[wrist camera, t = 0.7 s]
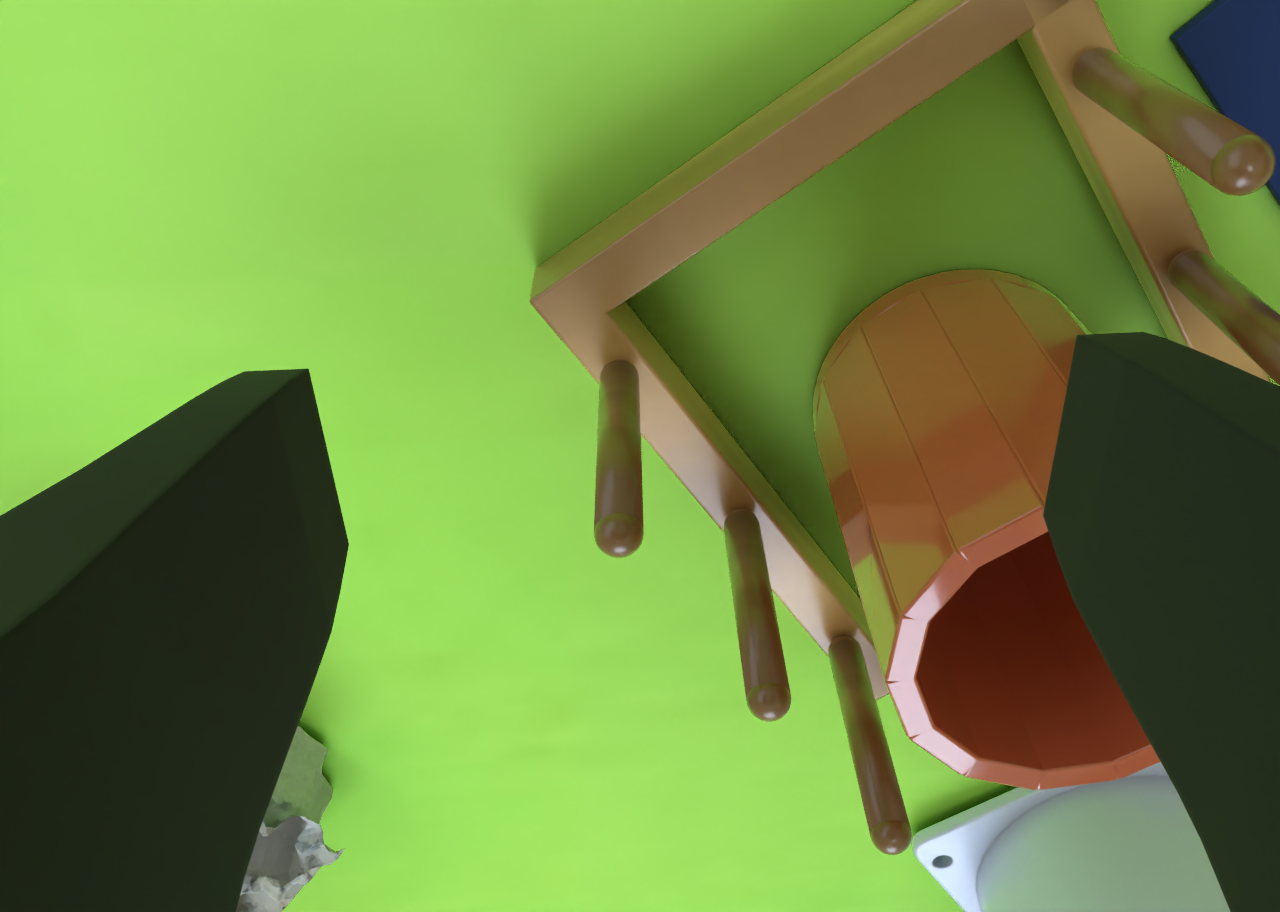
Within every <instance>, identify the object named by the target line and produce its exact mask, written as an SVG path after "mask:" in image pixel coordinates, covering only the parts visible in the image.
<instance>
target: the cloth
mask: <svg viewBox="0 0 1280 912" xmlns="http://www.w3.org/2000/svg"><path fill="white" fill-rule="evenodd" d="M1170 38H1171V40H1172V42H1173V43H1174V45H1175V46H1176V48H1177V49H1178V51H1179V53H1180V54H1181V56H1182V57H1183V59H1184V60H1185V62H1186V63H1187V65H1188V66H1189V68H1190V69H1191V71H1192V72H1193V74H1194V75H1195V77H1196V78H1197V80H1198V81H1199V83H1200V84H1201V86H1202V87H1203V89H1204V91H1205V92H1206V94H1207V95H1208V97H1209V98H1210V100H1211V101H1212V103H1213V104H1214V106H1215V107H1216V109H1217V110H1218V112H1219V113H1220V114H1222V115H1224V116H1226V117H1227V118H1229V119H1231V120H1232V121H1234V122H1236V123H1238V124H1239V125H1241V126H1243V127H1245V128H1246V129H1248V130H1250V131H1251V132H1253V133H1255V134H1257V135H1258V136H1260V137H1262V138H1263V139H1265V140H1266V141H1267V142H1268V143H1269V144H1270V145H1271V146H1272V148H1273V150H1274V152H1275V156H1276V165H1275V170H1274V172H1273V175H1272V176H1271V178H1270V179H1269V181H1268V182H1267V183H1266V185H1267V186H1268V188H1269V189H1270V191H1271V192H1272V194H1273V196H1274V197H1275V199H1276V200H1277V202H1278V203H1279V205H1280V0H1215V1H1214V2H1213V3H1211V4H1210V5H1209V6H1208V7H1206V8H1205V9H1204V10H1203V11H1201V12H1200V13H1199V14H1198V15H1196V16H1195V17H1194V18H1193V19H1191V20H1190V21H1189V22H1188V23H1187V24H1185V25H1184V26H1183V27H1182V28H1180V29H1179V30H1178V31H1177V32H1175V33H1174V34H1173V35H1172V36H1171V37H1170Z"/></svg>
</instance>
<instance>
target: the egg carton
mask: <svg viewBox="0 0 1280 912" xmlns="http://www.w3.org/2000/svg"><path fill="white" fill-rule="evenodd" d="M327 750H328V749H327V748H326V747H325V746H323V745H322V744H321V743H320V742H318V741H316V740H315V739H314V738H312V737H311V736H309V735H308V734H307V733H306V732H305V731H304V730H303V729H302V728H301V727H299V726H297V729H296V732H295V735H294V737H293V740H292V743H291V745H290V748H289V751H288V754H287V756H286V759H285V762H284V764H283V767H282V770H281V773H280V775H279V778H278V781H277V784H276V786H275V789H274V792H273V794H272V797H271V800H270V803H269V805H268V808H267V811H266V814H265V816H264V819H263V822H262V824H261V827H260V830H259V833H258V836H257V839H256V843H255V846H254V849H253V852H252V855H251V858H250V862H249V865H248V868H247V871H246V874H245V878H244V882H243V886H242V890H241V894H240V898H239V902H238V906H237V910H236V912H281V911H282V910H283V909H284V908H285V907H286V906H287V905H288V904H289V903H290V902H291V901H292V900H293V898H294V897H295V896H296V895H297V893H298V892H299V891H300V889H301V888H302V887H303V886H304V885H305V884H307V883H308V882H309V881H310V880H311V879H312V878H313V876H314V875H315V874H316V872H317V871H318V870H319V868H320V867H321V866H323V865H330V864H331V863H333V862H334V861H335V860H337V859H338V858H339V856H340V855H341V853H342V852H343V850H344V849H342V850H340V851H334V850H332V849H331V848H329V847H328V846H326V845H325V844H324V842H323V831H322V829H321V826H320V825H319V823H320V819H321V816H322V814H323V812H324V810H325V809H326V807H327V805H328V803H329V801H330V800H331V798H332V793H333V788H332V787H331V786H330V784H329V783H328V781H327V780H326V778H325V777H324V776H323V775H322V766H323V763H324V760H325V756H326V753H327Z"/></svg>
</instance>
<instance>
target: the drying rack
mask: <svg viewBox="0 0 1280 912" xmlns="http://www.w3.org/2000/svg"><path fill="white" fill-rule="evenodd" d="M1016 39H1017V41H1018V43H1019V45H1020V47H1021V49H1022V51H1023V53H1024V55H1025V57H1026V59H1027V61H1028V63H1029V65H1030V67H1031V69H1032V70H1033V72H1034V74H1035V76H1036V78H1037V80H1038V82H1039V84H1040V86H1041V88H1042V90H1043V92H1044V94H1045V96H1046V98H1047V100H1048V102H1049V104H1050V106H1051V108H1052V110H1053V112H1054V114H1055V116H1056V118H1057V120H1058V122H1059V124H1060V126H1061V128H1062V130H1063V132H1064V134H1065V136H1066V138H1067V140H1068V142H1069V144H1070V146H1071V148H1072V150H1073V152H1074V154H1075V156H1076V158H1077V160H1078V162H1079V163H1080V165H1081V167H1082V169H1083V171H1084V173H1085V175H1086V177H1087V179H1088V181H1089V183H1090V185H1091V187H1092V189H1093V191H1094V193H1095V195H1096V197H1097V199H1098V201H1099V203H1100V205H1101V207H1102V209H1103V211H1104V213H1105V215H1106V217H1107V219H1108V221H1109V223H1110V225H1111V227H1112V229H1113V231H1114V233H1115V235H1116V237H1117V239H1118V241H1119V243H1120V245H1121V247H1122V249H1123V251H1124V253H1125V254H1126V256H1127V258H1128V260H1129V262H1130V264H1131V266H1132V268H1133V270H1134V272H1135V274H1136V276H1137V278H1138V280H1139V282H1140V284H1141V286H1142V288H1143V290H1144V292H1145V294H1146V296H1147V298H1148V300H1149V302H1150V304H1151V306H1152V308H1153V310H1154V312H1155V314H1156V316H1157V318H1158V320H1159V322H1160V324H1161V326H1162V328H1163V330H1164V332H1165V334H1166V336H1167V338H1168V340H1171V341H1174V342H1176V343H1179V344H1182V345H1184V346H1187V347H1190V348H1192V349H1194V350H1197V351H1199V352H1202V353H1204V354H1207V355H1209V356H1211V357H1214V358H1216V359H1218V360H1221V361H1223V362H1225V363H1228V364H1230V365H1232V366H1234V367H1237V368H1239V369H1241V370H1243V371H1246V372H1248V373H1250V374H1252V375H1255V376H1257V377H1259V378H1261V379H1264V380H1266V381H1268V382H1270V383H1271V381H1270V379H1269V377H1268V375H1269V376H1270V377H1271V378H1272V379H1273V380H1274V381H1275V382H1276V383H1277V384H1279V385H1280V315H1279V314H1278V313H1277V312H1276V311H1274V310H1273V309H1272V308H1271V307H1270V306H1268V305H1267V304H1266V303H1265V302H1264V301H1262V300H1261V299H1260V298H1259V297H1258V296H1256V295H1255V294H1254V293H1253V292H1252V291H1250V290H1249V289H1248V288H1247V287H1246V286H1244V285H1243V284H1242V283H1241V282H1240V281H1238V280H1237V279H1236V278H1235V277H1234V276H1232V275H1231V274H1230V273H1229V272H1228V271H1226V270H1225V269H1224V268H1223V267H1222V266H1220V265H1219V264H1218V263H1217V262H1216V261H1215V259H1214V257H1213V255H1212V253H1211V251H1210V248H1209V246H1208V244H1207V242H1206V240H1205V238H1204V235H1203V233H1202V231H1201V229H1200V227H1199V225H1198V222H1197V220H1196V218H1195V216H1194V214H1193V211H1192V209H1191V207H1190V205H1189V203H1188V201H1187V198H1186V196H1185V194H1184V192H1183V190H1182V188H1181V185H1180V183H1179V181H1178V179H1177V177H1176V174H1175V172H1174V170H1173V168H1172V166H1171V164H1170V161H1169V159H1168V157H1167V155H1166V153H1167V154H1168V155H1170V156H1171V157H1173V158H1174V159H1176V160H1177V161H1178V162H1180V163H1181V164H1183V165H1184V166H1185V167H1187V168H1188V169H1190V170H1191V171H1192V172H1194V173H1195V174H1197V175H1198V176H1200V177H1201V178H1202V179H1204V180H1205V181H1207V182H1208V183H1209V184H1211V185H1212V186H1214V187H1215V188H1216V189H1218V190H1219V191H1221V192H1223V193H1225V194H1229V195H1237V196H1241V195H1247V194H1250V193H1253V192H1255V191H1257V190H1259V189H1260V188H1262V187H1263V186H1264V185H1265V184H1266V183H1267V182H1268V181H1269V179H1270V178H1271V176H1272V175H1273V172H1274V170H1275V165H1276V156H1275V152H1274V150H1273V148H1272V146H1271V145H1270V144H1269V143H1268V142H1267V141H1266V140H1265V139H1263V138H1262V137H1260V136H1258V135H1257V134H1255V133H1253V132H1251V131H1250V130H1248V129H1246V128H1245V127H1243V126H1241V125H1239V124H1238V123H1236V122H1234V121H1232V120H1231V119H1229V118H1227V117H1226V116H1224V115H1222V114H1220V113H1219V112H1217V111H1215V110H1213V109H1212V108H1210V107H1208V106H1207V105H1205V104H1203V103H1201V102H1200V101H1198V100H1196V99H1194V98H1193V97H1191V96H1189V95H1188V94H1186V93H1184V92H1182V91H1181V90H1179V89H1177V88H1175V87H1174V86H1172V85H1170V84H1169V83H1167V82H1165V81H1163V80H1162V79H1160V78H1158V77H1156V76H1155V75H1153V74H1151V73H1150V72H1148V71H1146V70H1144V69H1143V68H1141V67H1139V66H1137V65H1136V64H1134V63H1132V62H1131V61H1129V60H1127V59H1125V58H1124V57H1122V56H1121V55H1120V53H1119V50H1118V48H1117V46H1116V44H1115V42H1114V40H1113V37H1112V35H1111V33H1110V31H1109V29H1108V27H1107V24H1106V22H1105V20H1104V18H1103V16H1102V13H1101V11H1100V9H1099V7H1098V5H1097V3H1096V0H917V1H916V2H914V3H913V4H911V5H910V6H908V7H907V8H906V9H904V10H903V11H901V12H900V13H898V14H897V15H896V16H894V17H893V18H891V19H890V20H889V21H887V22H886V23H884V24H883V25H881V26H880V27H879V28H877V29H876V30H874V31H873V32H871V33H870V34H869V35H867V36H866V37H864V38H863V39H861V40H860V41H859V42H857V43H856V44H854V45H853V46H851V47H850V48H849V49H847V50H846V51H844V52H843V53H841V54H840V55H839V56H837V57H836V58H834V59H833V60H832V61H830V62H829V63H827V64H826V65H824V66H823V67H822V68H820V69H819V70H817V71H816V72H814V73H813V74H812V75H810V76H809V77H807V78H806V79H804V80H803V81H802V82H800V83H799V84H797V85H796V86H794V87H793V88H792V89H790V90H789V91H787V92H786V93H784V94H783V95H782V96H780V97H779V98H777V99H776V100H775V101H773V102H772V103H770V104H769V105H767V106H766V107H765V108H763V109H762V110H760V111H759V112H757V113H756V114H755V115H753V116H752V117H750V118H749V119H747V120H746V121H745V122H743V123H742V124H740V125H739V126H737V127H736V128H735V129H733V130H732V131H730V132H729V133H728V134H726V135H725V136H723V137H722V138H720V139H719V140H718V141H716V142H715V143H713V144H712V145H710V146H709V147H708V148H706V149H705V150H703V151H702V152H700V153H699V154H698V155H696V156H695V157H693V158H692V159H690V160H689V161H688V162H686V163H685V164H683V165H682V166H680V167H679V168H678V169H676V170H675V171H673V172H672V173H671V174H669V175H668V176H666V177H665V178H663V179H662V180H661V181H659V182H658V183H656V184H655V185H653V186H652V187H651V188H649V189H648V190H646V191H645V192H643V193H642V194H641V195H639V196H638V197H636V198H635V199H633V200H632V201H631V202H629V203H628V204H626V205H625V206H623V207H622V208H621V209H619V210H618V211H616V212H615V213H614V214H612V215H611V216H609V217H608V218H606V219H605V220H604V221H602V222H601V223H599V224H598V225H596V226H595V227H594V228H592V229H591V230H589V231H588V232H586V233H585V234H584V235H582V236H581V237H579V238H578V239H576V240H575V241H574V242H572V243H571V244H569V245H568V246H567V247H565V248H564V249H562V250H561V251H559V252H558V253H557V254H555V255H554V256H552V257H551V258H549V259H548V260H547V261H545V262H544V263H542V264H541V265H539V266H538V267H537V268H536V269H535V272H534V278H533V284H532V290H531V295H530V303H531V305H532V306H533V307H534V308H535V309H536V310H537V312H538V313H539V314H540V315H541V316H542V318H543V319H544V320H545V321H546V322H547V324H548V325H549V326H550V327H551V328H552V330H553V331H554V332H555V333H556V334H557V335H558V337H559V338H560V339H561V340H562V341H563V342H564V343H565V344H566V346H567V347H568V348H569V349H570V350H571V352H572V353H573V354H574V355H575V356H576V358H577V359H578V360H579V361H580V362H581V363H582V365H583V366H584V367H585V368H586V369H587V371H588V372H589V373H590V374H591V375H592V377H593V378H594V379H595V380H596V381H597V383H598V384H599V410H598V438H597V465H596V492H595V520H594V537H595V541H596V544H597V546H598V547H599V549H600V550H601V551H602V552H604V553H605V554H606V555H608V556H611V557H615V558H623V557H627V556H629V555H631V554H633V553H634V552H635V551H636V550H637V549H638V548H639V546H640V545H641V543H642V540H643V534H644V533H643V498H642V462H641V435H642V436H643V437H644V438H645V440H646V441H647V442H648V443H649V444H650V446H651V447H652V448H653V449H654V450H655V451H656V453H657V454H658V455H659V456H660V457H661V459H662V460H663V461H664V462H665V463H666V465H667V466H668V467H669V468H670V469H671V471H672V472H673V473H674V474H675V475H676V476H677V478H678V479H679V480H680V481H681V482H682V484H683V485H684V486H685V487H686V488H687V490H688V491H689V492H690V493H691V494H692V496H693V497H694V498H695V499H696V500H697V501H698V503H699V504H700V505H701V506H702V507H703V509H704V510H705V511H706V512H707V513H708V515H709V516H710V517H711V518H712V519H713V520H714V522H715V523H716V524H717V525H718V526H719V528H720V529H721V530H722V531H723V532H724V535H725V543H726V550H727V558H728V565H729V573H730V580H731V588H732V595H733V603H734V610H735V618H736V625H737V633H738V640H739V648H740V655H741V663H742V670H743V678H744V685H745V693H746V700H747V705H748V708H749V710H750V711H751V713H752V714H753V715H754V716H755V717H757V718H758V719H760V720H763V721H776V720H778V719H780V718H782V717H783V716H784V715H785V714H786V713H787V711H788V710H789V708H790V704H791V694H790V688H789V683H788V677H787V672H786V666H785V661H784V655H783V650H782V644H781V639H780V633H779V628H778V622H777V617H776V611H775V606H774V600H773V595H772V591H773V592H774V593H775V594H776V595H777V597H778V598H779V599H780V600H781V601H782V603H783V604H784V605H785V606H786V607H787V609H788V610H789V611H790V612H791V613H792V614H793V616H794V617H795V618H796V619H797V620H798V622H799V623H800V624H801V625H802V626H803V628H804V629H805V630H806V631H807V632H808V633H809V635H810V636H811V637H812V638H813V639H814V641H815V642H816V643H817V644H818V645H819V647H820V648H821V649H822V650H823V651H824V653H825V654H826V655H827V656H828V657H829V659H830V664H831V668H832V672H833V677H834V681H835V685H836V690H837V694H838V698H839V702H840V707H841V711H842V715H843V720H844V724H845V728H846V732H847V737H848V741H849V745H850V750H851V754H852V758H853V763H854V767H855V771H856V775H857V780H858V784H859V788H860V793H861V797H862V801H863V806H864V810H865V814H866V818H867V823H868V827H869V831H870V836H871V839H872V842H873V843H874V845H875V846H876V848H877V849H879V850H880V851H881V852H883V853H885V854H889V855H896V854H899V853H901V852H903V851H905V850H906V849H907V847H908V846H909V844H910V841H911V828H910V825H909V821H908V817H907V814H906V810H905V806H904V803H903V799H902V795H901V792H900V788H899V784H898V781H897V777H896V773H895V769H894V766H893V762H892V758H891V755H890V751H889V747H888V744H887V740H886V736H885V733H884V729H883V725H882V722H881V718H880V714H879V711H878V707H877V703H876V700H877V699H879V698H881V697H883V696H885V695H887V694H889V692H888V689H887V687H886V684H885V681H884V678H883V674H882V671H881V667H880V664H879V660H878V657H877V653H876V650H875V646H874V643H873V639H872V636H871V632H870V629H869V626H868V622H867V619H866V615H865V612H864V608H863V605H862V601H861V599H860V598H859V597H858V596H857V594H856V593H855V592H854V591H853V589H852V588H851V587H850V585H849V584H848V583H847V582H846V580H845V579H844V578H843V577H842V575H841V574H840V573H839V572H838V570H837V569H836V568H835V566H834V565H833V564H832V563H831V561H830V560H829V559H828V558H827V556H826V555H825V554H824V553H823V551H822V550H821V549H820V547H819V546H818V545H817V544H816V542H815V541H814V540H813V539H812V537H811V536H810V535H809V534H808V532H807V531H806V530H805V528H804V527H803V526H802V525H801V523H800V522H799V521H798V520H797V518H796V517H795V516H794V514H793V513H792V512H791V511H790V509H789V508H788V507H787V506H786V504H785V503H784V502H783V501H782V499H781V498H780V497H779V495H778V494H777V493H776V492H775V490H774V489H773V488H772V487H771V485H770V484H769V483H768V482H767V480H766V479H765V478H764V476H763V475H762V474H761V473H760V471H759V470H758V469H757V468H756V466H755V465H754V464H753V463H752V461H751V460H750V459H749V457H748V456H747V455H746V454H745V452H744V451H743V450H742V449H741V447H740V446H739V445H738V443H737V442H736V441H735V440H734V438H733V437H732V436H731V435H730V433H729V432H728V431H727V430H726V428H725V427H724V426H723V424H722V423H721V422H720V421H719V419H718V418H717V417H716V416H715V414H714V413H713V412H712V411H711V409H710V408H709V407H708V405H707V404H706V403H705V402H704V400H703V399H702V398H701V397H700V395H699V394H698V393H697V392H696V390H695V389H694V388H693V386H692V385H691V384H690V383H689V381H688V380H687V379H686V378H685V376H684V375H683V374H682V372H681V371H680V370H679V369H678V367H677V366H676V365H675V364H674V362H673V361H672V360H671V359H670V357H669V356H668V355H667V353H666V352H665V351H664V350H663V348H662V347H661V346H660V345H659V343H658V342H657V341H656V340H655V338H654V337H653V336H652V334H651V333H650V332H649V331H648V329H647V328H646V327H645V326H644V324H643V323H642V322H641V321H640V319H639V318H638V317H637V315H636V314H635V313H634V312H633V310H632V309H631V308H630V307H629V305H628V304H627V303H626V300H628V299H629V298H631V297H632V296H634V295H635V294H637V293H638V292H640V291H641V290H643V289H644V288H646V287H647V286H649V285H650V284H652V283H653V282H655V281H656V280H658V279H659V278H661V277H662V276H664V275H665V274H667V273H668V272H670V271H671V270H673V269H674V268H676V267H677V266H679V265H680V264H682V263H683V262H685V261H686V260H688V259H689V258H691V257H692V256H694V255H695V254H697V253H698V252H700V251H701V250H703V249H704V248H706V247H707V246H709V245H710V244H712V243H713V242H715V241H716V240H718V239H719V238H721V237H722V236H724V235H725V234H727V233H728V232H729V231H731V230H732V229H734V228H735V227H737V226H738V225H740V224H741V223H743V222H744V221H746V220H747V219H749V218H750V217H752V216H753V215H755V214H756V213H758V212H759V211H761V210H762V209H764V208H765V207H767V206H768V205H770V204H771V203H773V202H774V201H776V200H777V199H779V198H780V197H782V196H783V195H785V194H786V193H788V192H789V191H791V190H792V189H794V188H795V187H797V186H798V185H800V184H801V183H803V182H804V181H806V180H807V179H809V178H810V177H812V176H813V175H815V174H816V173H818V172H819V171H821V170H822V169H824V168H825V167H827V166H828V165H830V164H831V163H833V162H834V161H836V160H837V159H839V158H840V157H842V156H843V155H845V154H846V153H848V152H849V151H851V150H852V149H854V148H855V147H857V146H858V145H860V144H861V143H862V142H864V141H865V140H867V139H868V138H870V137H871V136H873V135H874V134H876V133H877V132H879V131H880V130H882V129H883V128H885V127H886V126H888V125H889V124H891V123H892V122H894V121H895V120H897V119H898V118H900V117H901V116H903V115H904V114H906V113H907V112H909V111H910V110H912V109H913V108H915V107H916V106H918V105H919V104H921V103H922V102H924V101H925V100H927V99H928V98H930V97H931V96H933V95H934V94H936V93H937V92H939V91H940V90H942V89H943V88H945V87H946V86H948V85H949V84H951V83H952V82H954V81H955V80H957V79H958V78H960V77H961V76H963V75H964V74H966V73H967V72H969V71H970V70H972V69H973V68H975V67H976V66H978V65H979V64H981V63H982V62H984V61H985V60H987V59H988V58H990V57H991V56H993V55H994V54H995V53H997V52H998V51H1000V50H1001V49H1003V48H1004V47H1006V46H1007V45H1009V44H1010V43H1012V42H1013V41H1015V40H1016ZM1165 152H1166V153H1165ZM1267 374H1268V375H1267Z"/></svg>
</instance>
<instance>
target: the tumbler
mask: <svg viewBox="0 0 1280 912" xmlns="http://www.w3.org/2000/svg"><path fill="white" fill-rule="evenodd" d="M1089 334H1092V333H1091V332H1090V331H1089V330H1088V329H1087V328H1086V327H1085V326H1084V325H1083V324H1082V323H1081V322H1080V321H1079V320H1078V318H1077V317H1076V316H1075V315H1074V314H1073V312H1072V311H1071V310H1070V309H1069V308H1068V307H1067V306H1066V305H1065V304H1064V303H1063V302H1062V301H1061V300H1060V299H1059V298H1058V297H1057V296H1055V295H1054V294H1053V293H1051V292H1050V291H1049V290H1048V289H1046V288H1044V287H1042V286H1040V285H1039V284H1037V283H1035V282H1033V281H1031V280H1028V279H1026V278H1023V277H1020V276H1018V275H1014V274H1010V273H1005V272H1001V271H995V270H984V269H964V270H953V271H947V272H941V273H936V274H933V275H929V276H925V277H922V278H919V279H916V280H914V281H911V282H909V283H906V284H904V285H901V286H900V287H898V288H896V289H894V290H892V291H890V292H889V293H887V294H885V295H883V296H882V297H880V298H879V299H878V300H876V301H875V302H873V303H872V304H870V305H869V306H868V307H866V308H865V309H864V310H863V311H862V312H861V313H860V314H859V315H857V316H856V317H855V318H854V319H853V320H852V321H851V322H850V324H849V325H848V326H847V327H846V328H845V329H844V330H843V331H842V333H841V334H840V335H839V337H838V338H837V340H836V341H835V343H834V344H833V345H832V347H831V348H830V350H829V352H828V354H827V356H826V358H825V360H824V362H823V364H822V367H821V369H820V372H819V375H818V378H817V381H816V386H815V390H814V395H813V411H812V412H813V423H814V429H815V431H814V434H815V441H816V444H817V448H818V451H819V455H820V458H821V462H822V465H823V469H824V472H825V476H826V479H827V483H828V486H829V490H830V493H831V497H832V500H833V504H834V507H835V511H836V514H837V518H838V521H839V525H840V528H841V532H842V535H843V538H844V542H845V545H846V549H847V552H848V556H849V559H850V563H851V566H852V570H853V573H854V577H855V580H856V584H857V587H858V591H859V594H860V598H861V601H862V605H863V608H864V612H865V615H866V619H867V622H868V626H869V629H870V632H871V636H872V639H873V643H874V646H875V650H876V653H877V657H878V660H879V664H880V667H881V671H882V674H883V678H884V681H885V684H886V687H887V689H888V692H889V694H890V696H891V699H892V701H893V704H894V706H895V709H896V711H897V714H898V716H899V718H900V721H901V723H902V726H903V728H904V731H905V733H906V735H907V736H908V737H909V739H910V740H911V741H913V742H914V743H916V744H917V745H918V746H920V747H921V748H923V749H924V750H926V751H927V752H928V753H930V754H931V755H933V756H934V757H936V758H937V759H938V760H940V761H941V762H943V763H944V764H946V765H947V766H948V767H950V768H951V769H953V770H954V771H956V772H957V773H958V774H960V775H963V776H964V777H968V778H973V779H978V780H984V781H989V782H994V783H999V784H1004V785H1009V786H1015V787H1020V788H1025V789H1030V790H1036V789H1037V790H1045V789H1053V788H1061V787H1069V786H1076V785H1084V784H1092V783H1100V782H1108V781H1115V780H1117V779H1122V778H1125V777H1127V776H1129V775H1132V774H1134V773H1136V772H1138V771H1141V770H1143V769H1145V768H1148V767H1150V766H1152V765H1155V764H1157V763H1159V762H1160V760H1159V758H1158V756H1157V754H1156V752H1155V751H1154V749H1153V747H1152V745H1151V743H1150V742H1149V740H1148V738H1147V736H1146V734H1145V732H1144V731H1143V729H1142V727H1141V725H1140V723H1139V722H1138V720H1137V718H1136V716H1135V714H1134V712H1133V711H1132V709H1131V707H1130V705H1129V703H1128V702H1127V700H1126V698H1125V696H1124V694H1123V692H1122V691H1121V689H1120V687H1119V685H1118V683H1117V682H1116V680H1115V678H1114V676H1113V674H1112V673H1111V671H1110V669H1109V667H1108V665H1107V663H1106V661H1105V660H1104V658H1103V656H1102V654H1101V652H1100V650H1099V648H1098V647H1097V645H1096V643H1095V641H1094V639H1093V637H1092V635H1091V633H1090V632H1089V630H1088V628H1087V626H1086V624H1085V622H1084V620H1083V618H1082V616H1081V615H1080V613H1079V611H1078V609H1077V607H1076V605H1075V603H1074V601H1073V599H1072V596H1071V593H1070V591H1069V588H1068V585H1067V583H1066V580H1065V577H1064V575H1063V572H1062V569H1061V567H1060V564H1059V561H1058V558H1057V556H1056V553H1055V550H1054V547H1053V544H1052V541H1051V538H1050V535H1049V532H1048V529H1047V526H1046V523H1045V520H1044V517H1043V512H1044V507H1045V502H1046V496H1047V491H1048V486H1049V480H1050V475H1051V470H1052V464H1053V459H1054V454H1055V449H1056V443H1057V438H1058V433H1059V427H1060V422H1061V417H1062V411H1063V406H1064V401H1065V395H1066V390H1067V385H1068V380H1069V374H1070V369H1071V364H1072V358H1073V353H1074V348H1075V342H1076V337H1077V335H1089Z"/></svg>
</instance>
